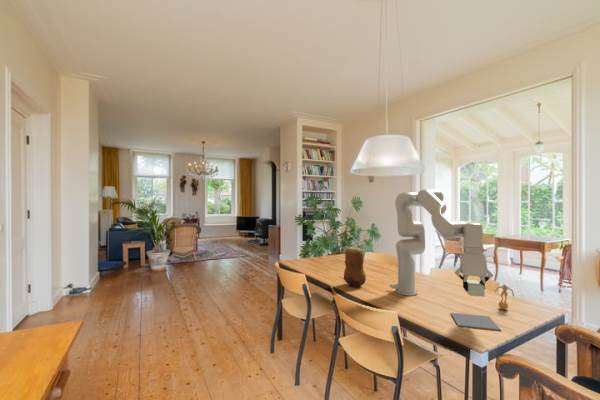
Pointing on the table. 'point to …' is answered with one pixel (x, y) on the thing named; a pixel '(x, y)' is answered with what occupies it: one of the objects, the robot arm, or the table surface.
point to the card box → (475, 288)
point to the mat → (475, 321)
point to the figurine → (502, 303)
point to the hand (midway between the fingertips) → (473, 290)
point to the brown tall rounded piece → (354, 267)
